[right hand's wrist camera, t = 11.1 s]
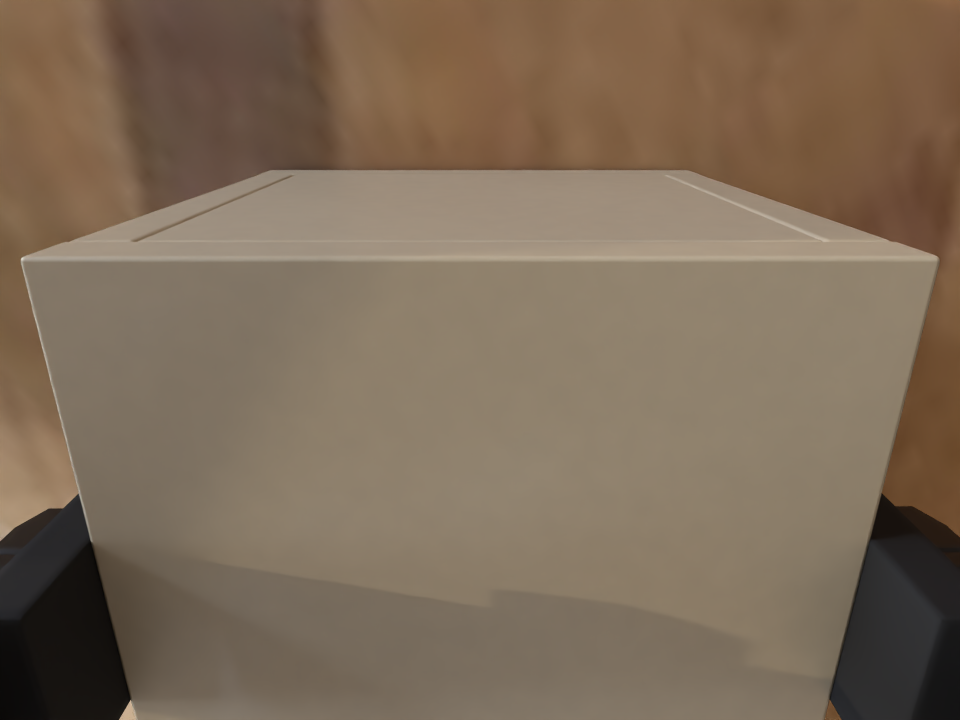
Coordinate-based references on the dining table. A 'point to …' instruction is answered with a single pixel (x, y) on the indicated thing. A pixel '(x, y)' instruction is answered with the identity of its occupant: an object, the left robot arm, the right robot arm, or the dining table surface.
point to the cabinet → (480, 442)
